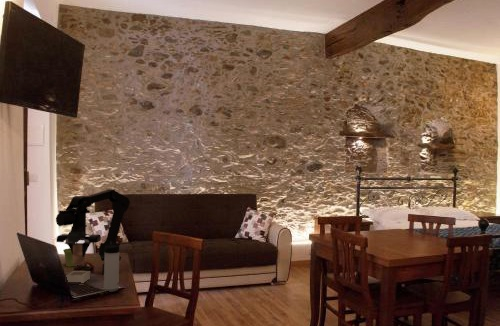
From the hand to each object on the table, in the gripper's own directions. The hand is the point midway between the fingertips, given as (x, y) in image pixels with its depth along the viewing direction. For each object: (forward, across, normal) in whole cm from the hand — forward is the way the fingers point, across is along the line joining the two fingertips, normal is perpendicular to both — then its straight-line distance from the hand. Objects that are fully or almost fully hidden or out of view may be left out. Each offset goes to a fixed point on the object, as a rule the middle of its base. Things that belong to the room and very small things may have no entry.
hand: (78, 256), depth 194 cm
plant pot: (+12, -15, +30) cm, 36 cm away
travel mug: (+12, +19, -11) cm, 25 cm away
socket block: (+12, 0, 0) cm, 12 cm away
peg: (+3, 0, 0) cm, 3 cm away
